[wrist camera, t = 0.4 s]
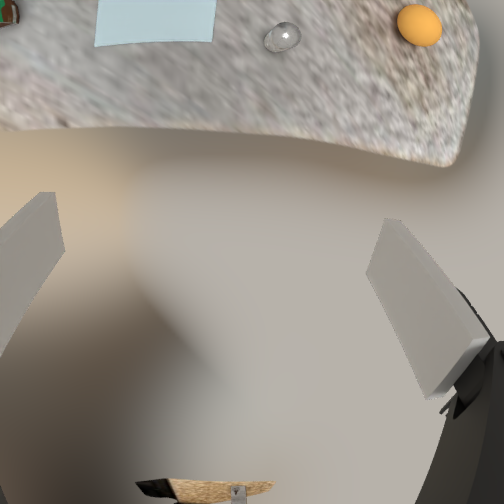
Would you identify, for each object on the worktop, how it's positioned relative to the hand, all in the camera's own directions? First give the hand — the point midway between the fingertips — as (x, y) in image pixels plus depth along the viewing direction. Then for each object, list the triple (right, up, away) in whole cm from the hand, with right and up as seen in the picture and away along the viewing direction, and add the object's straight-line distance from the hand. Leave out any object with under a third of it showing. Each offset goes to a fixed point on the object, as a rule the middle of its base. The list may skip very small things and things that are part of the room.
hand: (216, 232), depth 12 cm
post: (+4, +23, +18) cm, 29 cm away
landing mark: (-9, +29, +13) cm, 33 cm away
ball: (+21, +25, +14) cm, 36 cm away
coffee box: (-4, -102, +98) cm, 141 cm away
